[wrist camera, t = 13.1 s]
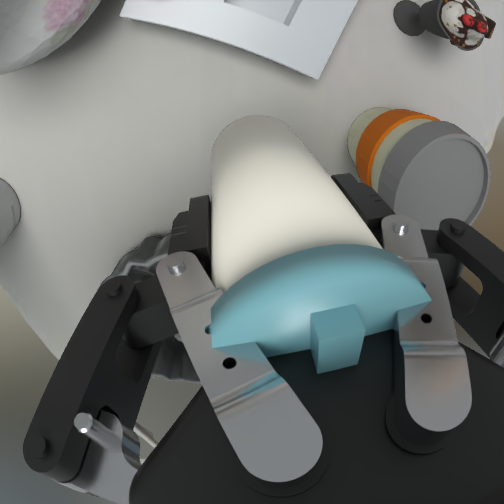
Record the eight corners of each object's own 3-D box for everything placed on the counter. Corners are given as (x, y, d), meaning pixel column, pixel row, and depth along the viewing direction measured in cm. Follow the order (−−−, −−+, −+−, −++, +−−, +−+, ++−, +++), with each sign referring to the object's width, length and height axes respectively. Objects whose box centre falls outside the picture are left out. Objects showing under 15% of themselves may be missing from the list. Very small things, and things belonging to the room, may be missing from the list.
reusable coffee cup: (313, 150, 36) (363, 212, 24) (374, 73, 30) (454, 100, 18) (379, 199, 41) (433, 267, 29) (432, 134, 35) (506, 184, 24)
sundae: (378, 19, 26) (462, 21, 14) (401, -16, 23) (487, -24, 11) (416, 52, 28) (503, 73, 17) (437, 18, 25) (525, 29, 13)
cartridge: (196, 120, 15) (159, 343, 4) (301, 103, 15) (484, 272, 4) (216, 210, 19) (231, 447, 8) (308, 194, 19) (411, 405, 8)
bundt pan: (178, 167, 36) (167, 207, 28) (312, 276, 49) (329, 325, 41) (81, 286, 45) (64, 334, 37) (203, 352, 58) (203, 397, 51)
